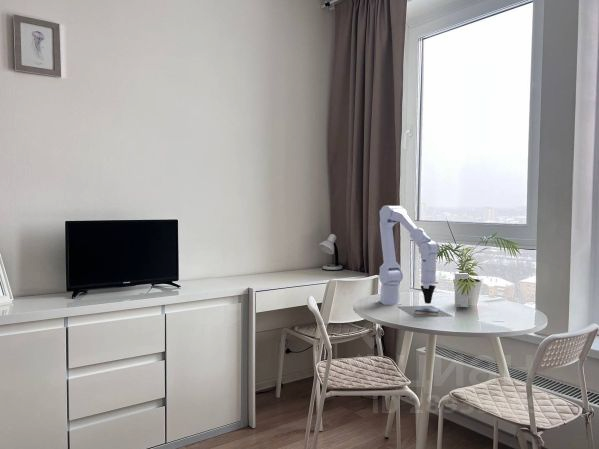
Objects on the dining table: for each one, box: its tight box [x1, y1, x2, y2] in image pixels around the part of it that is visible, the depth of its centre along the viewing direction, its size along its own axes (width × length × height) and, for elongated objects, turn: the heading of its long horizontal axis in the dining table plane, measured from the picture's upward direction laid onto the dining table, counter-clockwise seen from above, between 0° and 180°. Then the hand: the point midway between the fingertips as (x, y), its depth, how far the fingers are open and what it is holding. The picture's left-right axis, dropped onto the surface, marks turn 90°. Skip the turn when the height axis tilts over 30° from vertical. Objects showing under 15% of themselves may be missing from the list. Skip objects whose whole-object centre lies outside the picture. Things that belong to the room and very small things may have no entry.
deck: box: [415, 307, 440, 316], centre depth 188 cm, size 9×2×6 cm
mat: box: [396, 305, 453, 318], centre depth 192 cm, size 20×16×1 cm
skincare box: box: [454, 271, 470, 308], centre depth 204 cm, size 8×6×15 cm
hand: (427, 303), depth 191 cm, fingers closed
